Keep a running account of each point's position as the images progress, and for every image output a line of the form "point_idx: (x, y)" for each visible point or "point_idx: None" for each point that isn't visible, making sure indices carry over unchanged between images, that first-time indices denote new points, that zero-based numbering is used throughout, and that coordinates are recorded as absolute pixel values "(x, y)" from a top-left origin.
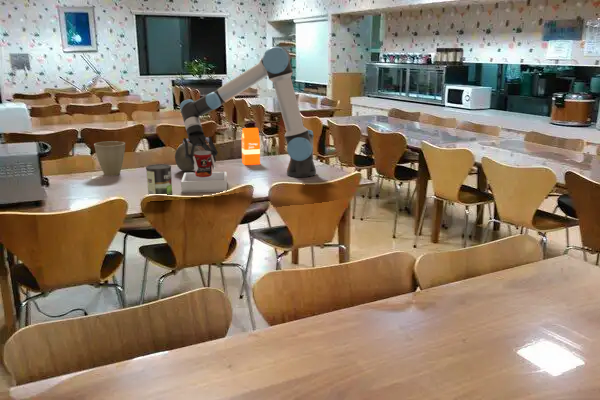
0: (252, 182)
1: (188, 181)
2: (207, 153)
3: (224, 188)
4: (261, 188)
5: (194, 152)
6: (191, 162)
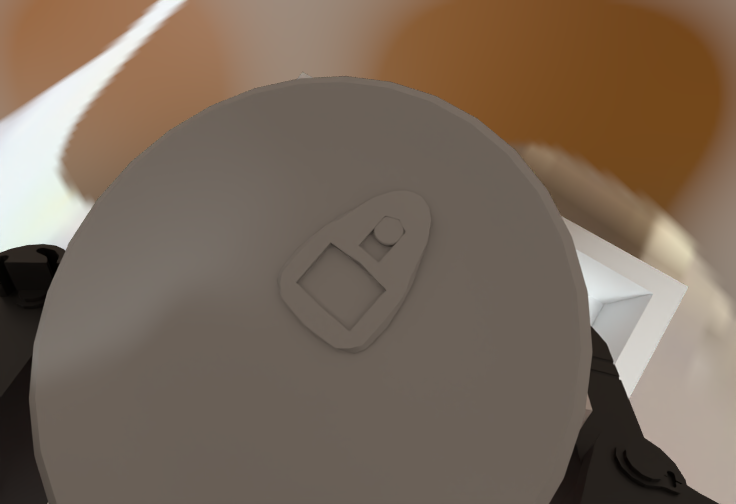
0: (25, 226)
1: (609, 247)
2: (300, 81)
3: None
4: (109, 63)
5: (569, 460)
6: (598, 357)
